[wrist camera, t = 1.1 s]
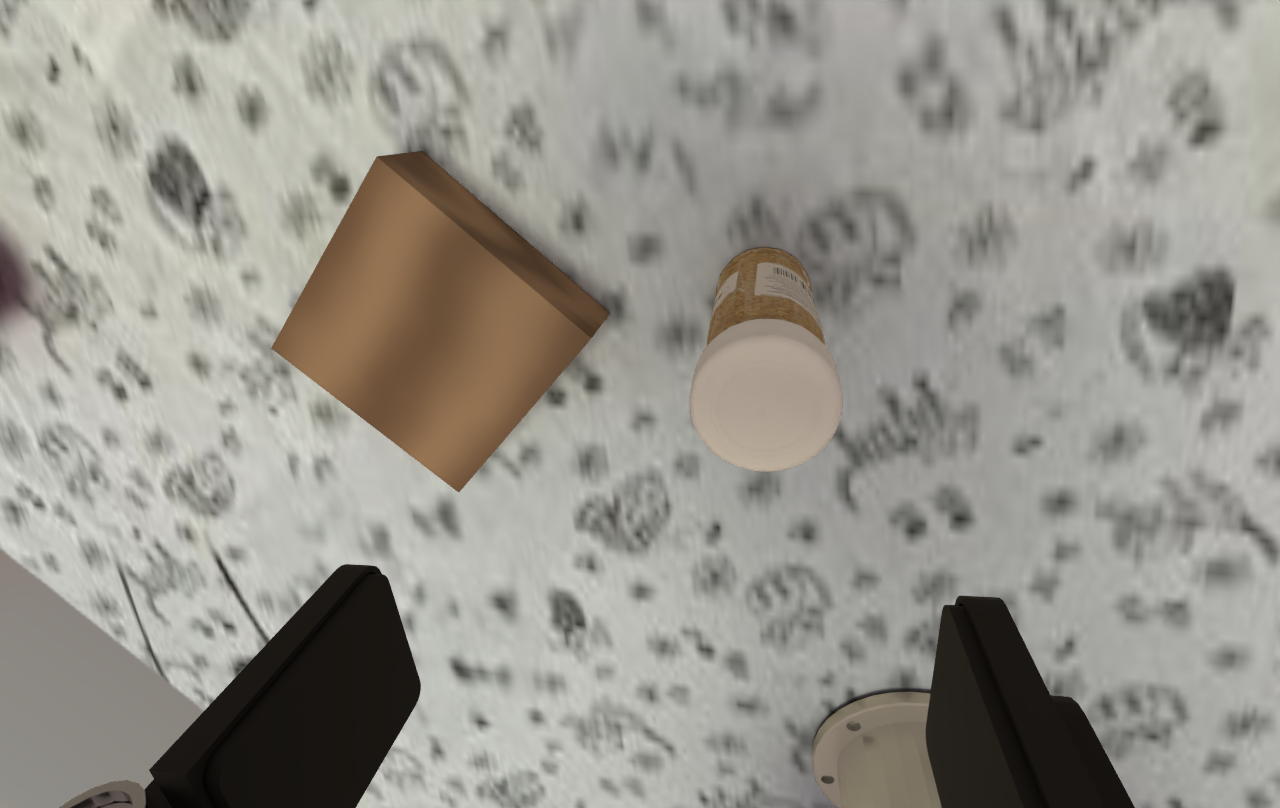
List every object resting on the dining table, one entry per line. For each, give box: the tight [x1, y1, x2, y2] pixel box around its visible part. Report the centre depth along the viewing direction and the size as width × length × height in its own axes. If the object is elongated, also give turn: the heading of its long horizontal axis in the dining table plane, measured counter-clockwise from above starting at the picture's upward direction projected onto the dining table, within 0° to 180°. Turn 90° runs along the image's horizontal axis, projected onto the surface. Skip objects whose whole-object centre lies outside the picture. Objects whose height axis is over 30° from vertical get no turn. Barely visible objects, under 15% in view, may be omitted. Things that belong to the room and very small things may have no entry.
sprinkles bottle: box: [690, 247, 843, 472], centre depth 25 cm, size 5×5×14 cm
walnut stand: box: [272, 151, 610, 492], centre depth 32 cm, size 12×12×4 cm
